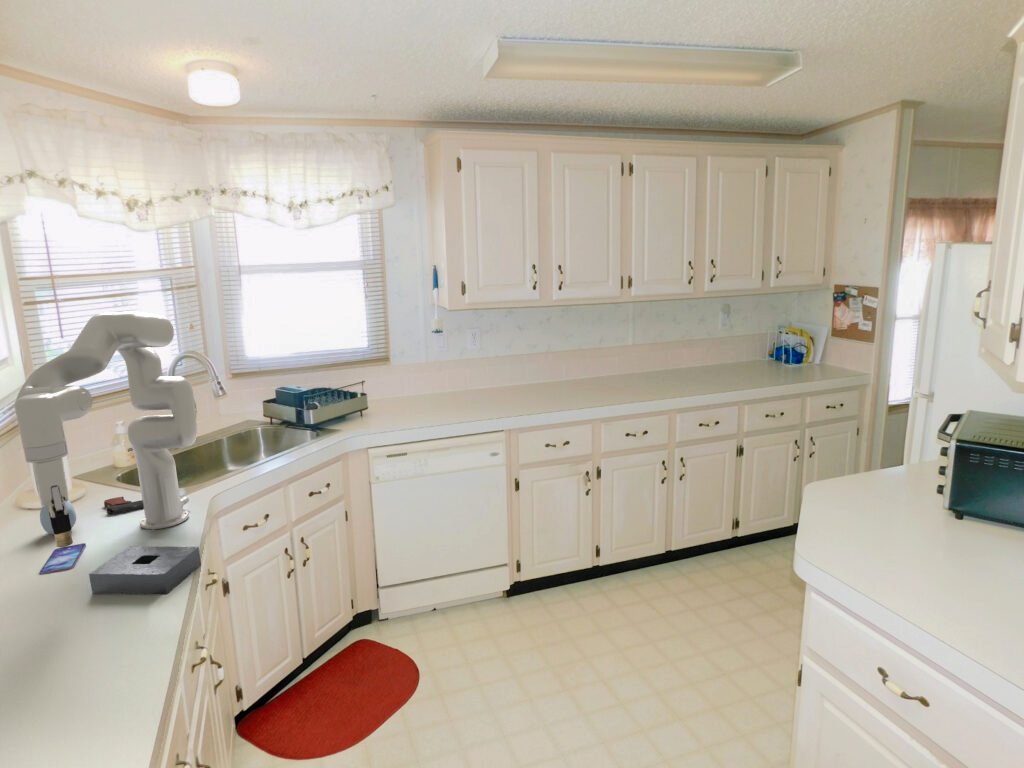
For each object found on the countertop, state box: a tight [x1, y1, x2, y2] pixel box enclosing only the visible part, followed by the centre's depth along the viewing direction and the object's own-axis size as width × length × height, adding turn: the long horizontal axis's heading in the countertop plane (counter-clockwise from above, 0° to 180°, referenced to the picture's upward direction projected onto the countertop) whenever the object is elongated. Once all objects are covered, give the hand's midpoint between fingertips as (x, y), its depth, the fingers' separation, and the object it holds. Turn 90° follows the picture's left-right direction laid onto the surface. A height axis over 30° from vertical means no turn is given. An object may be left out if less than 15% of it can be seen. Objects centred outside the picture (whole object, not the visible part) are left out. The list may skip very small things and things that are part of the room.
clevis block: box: [88, 545, 202, 596], centre depth 152 cm, size 14×18×5 cm
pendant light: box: [39, 500, 77, 535], centre depth 179 cm, size 8×8×30 cm
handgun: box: [103, 496, 144, 516], centre depth 201 cm, size 16×3×12 cm
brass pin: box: [48, 500, 74, 548], centre depth 142 cm, size 3×3×10 cm
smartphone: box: [38, 542, 87, 575], centre depth 165 cm, size 7×1×15 cm
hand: (61, 529), depth 142 cm, fingers closed on brass pin, 2 cm apart
